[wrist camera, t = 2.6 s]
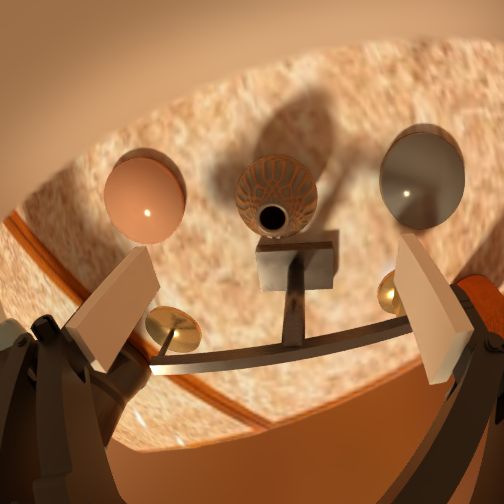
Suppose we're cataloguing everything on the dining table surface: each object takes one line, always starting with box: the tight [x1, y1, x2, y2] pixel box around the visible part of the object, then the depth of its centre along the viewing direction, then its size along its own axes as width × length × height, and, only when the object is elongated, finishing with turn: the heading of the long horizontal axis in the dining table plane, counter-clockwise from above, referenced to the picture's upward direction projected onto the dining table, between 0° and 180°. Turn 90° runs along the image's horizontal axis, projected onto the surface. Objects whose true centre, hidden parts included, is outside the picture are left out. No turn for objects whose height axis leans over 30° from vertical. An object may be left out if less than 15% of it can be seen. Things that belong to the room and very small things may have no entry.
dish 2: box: [379, 132, 465, 229], centre depth 23 cm, size 10×10×1 cm
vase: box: [236, 155, 318, 239], centre depth 23 cm, size 7×7×9 cm
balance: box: [145, 242, 413, 375], centre depth 24 cm, size 26×5×15 cm, turn 98°
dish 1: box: [104, 157, 184, 244], centre depth 29 cm, size 10×10×1 cm
